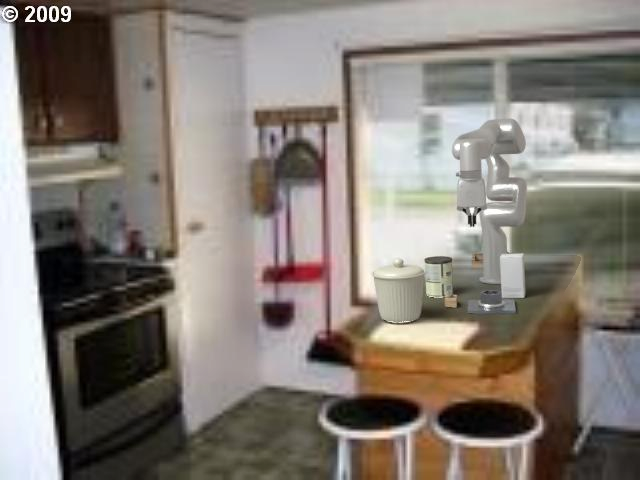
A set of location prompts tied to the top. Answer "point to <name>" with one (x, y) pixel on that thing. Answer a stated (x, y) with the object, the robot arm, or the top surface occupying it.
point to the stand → (451, 300)
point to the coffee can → (438, 276)
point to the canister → (399, 291)
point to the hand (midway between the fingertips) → (472, 226)
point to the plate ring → (491, 297)
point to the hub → (492, 307)
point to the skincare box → (512, 275)
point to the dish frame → (478, 263)
